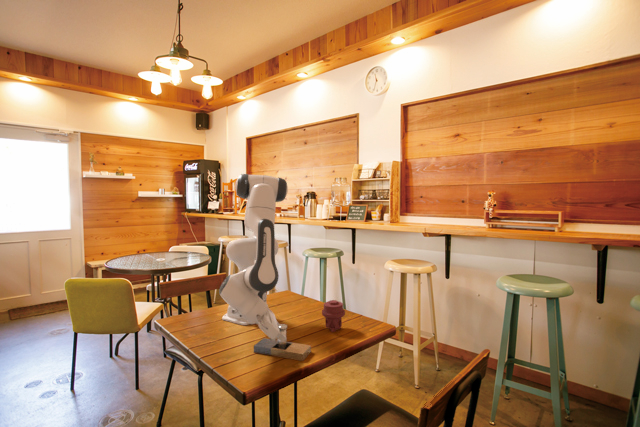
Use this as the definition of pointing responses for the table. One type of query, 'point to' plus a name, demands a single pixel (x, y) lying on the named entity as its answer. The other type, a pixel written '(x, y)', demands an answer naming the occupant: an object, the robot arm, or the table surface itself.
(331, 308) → the mechanical component
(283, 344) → the metal peg
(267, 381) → the table surface
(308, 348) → the two-tone slotted plate
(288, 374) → the table surface
